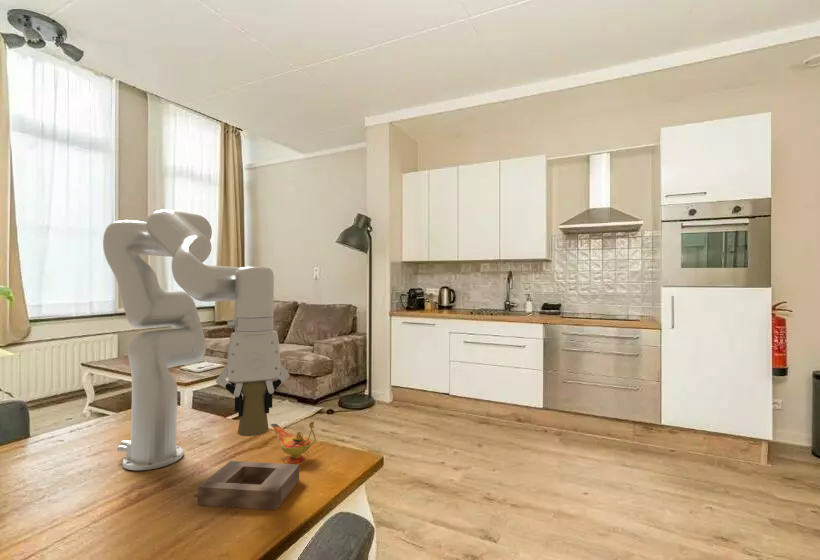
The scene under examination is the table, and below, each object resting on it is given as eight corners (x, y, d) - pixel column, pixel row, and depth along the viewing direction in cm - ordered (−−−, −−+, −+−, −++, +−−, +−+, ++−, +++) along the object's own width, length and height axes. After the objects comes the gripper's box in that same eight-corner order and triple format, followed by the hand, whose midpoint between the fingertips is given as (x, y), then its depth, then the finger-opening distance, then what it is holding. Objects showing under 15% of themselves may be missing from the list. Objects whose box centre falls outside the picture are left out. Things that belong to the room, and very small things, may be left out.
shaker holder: (197, 504, 80) (197, 486, 80) (230, 476, 92) (230, 460, 92) (276, 510, 79) (276, 491, 79) (299, 480, 91) (299, 464, 91)
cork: (258, 437, 82) (258, 382, 82) (231, 435, 83) (232, 380, 83) (274, 427, 88) (274, 375, 88) (248, 425, 89) (249, 374, 89)
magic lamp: (282, 445, 110) (283, 404, 110) (326, 463, 99) (327, 418, 99) (259, 453, 105) (260, 410, 105) (303, 473, 94) (303, 425, 94)
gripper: (208, 328, 79) (207, 424, 79) (298, 325, 86) (298, 413, 86) (210, 325, 86) (209, 413, 85) (293, 322, 93) (292, 403, 92)
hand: (253, 412), depth 85 cm, fingers closed on cork, 4 cm apart
